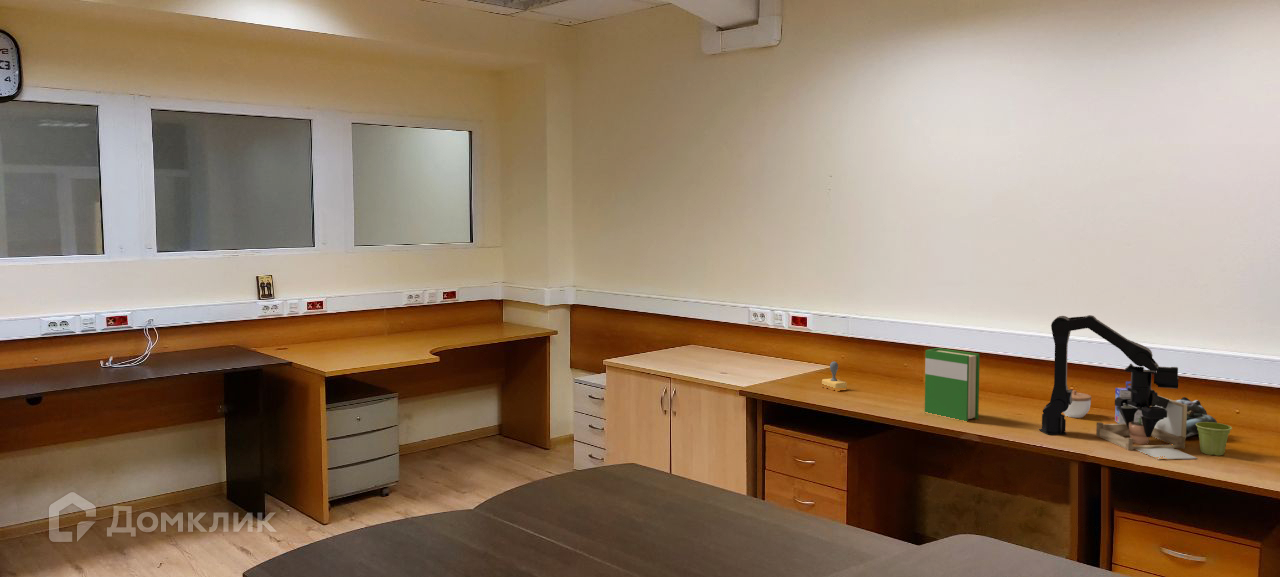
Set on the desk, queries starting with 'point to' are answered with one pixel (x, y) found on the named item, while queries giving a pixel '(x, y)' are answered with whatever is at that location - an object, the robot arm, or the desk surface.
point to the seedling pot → (1138, 432)
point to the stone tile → (1166, 453)
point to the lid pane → (1174, 419)
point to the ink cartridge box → (1118, 417)
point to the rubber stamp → (834, 378)
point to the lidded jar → (1078, 405)
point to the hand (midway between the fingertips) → (1139, 433)
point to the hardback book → (952, 383)
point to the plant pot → (1213, 437)
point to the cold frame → (1118, 430)
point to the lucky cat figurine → (1195, 415)
